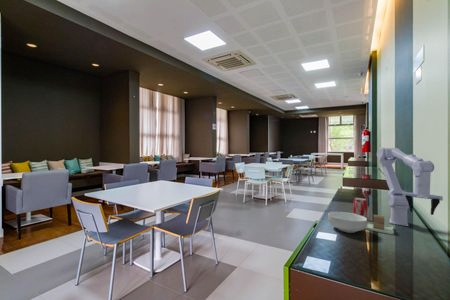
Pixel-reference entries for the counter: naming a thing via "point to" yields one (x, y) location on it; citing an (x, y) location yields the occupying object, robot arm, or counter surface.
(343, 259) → the counter surface
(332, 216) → the cereal bowl
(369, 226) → the tray
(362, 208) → the soda can
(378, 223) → the walnut block
